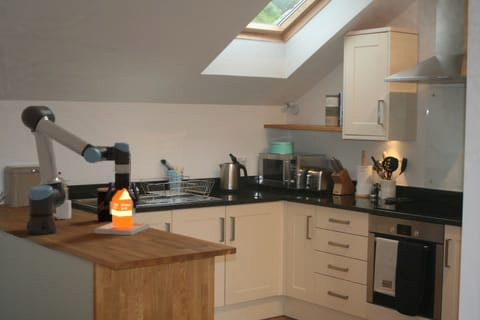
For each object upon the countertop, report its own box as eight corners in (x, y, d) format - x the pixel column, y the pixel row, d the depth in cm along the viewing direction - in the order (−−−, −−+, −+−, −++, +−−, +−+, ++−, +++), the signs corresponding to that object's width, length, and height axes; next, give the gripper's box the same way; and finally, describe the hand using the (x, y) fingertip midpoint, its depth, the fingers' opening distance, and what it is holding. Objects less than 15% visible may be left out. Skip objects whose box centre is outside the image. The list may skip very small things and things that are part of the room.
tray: (131, 235, 346) (131, 230, 346) (94, 233, 351) (94, 228, 351) (149, 227, 369) (149, 223, 369) (114, 225, 374) (114, 221, 374)
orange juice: (118, 228, 354) (118, 189, 353) (112, 225, 361) (111, 187, 360) (133, 226, 358) (132, 188, 357) (126, 224, 366) (125, 186, 364)
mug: (53, 220, 391) (53, 202, 390) (47, 218, 397) (47, 201, 396) (73, 218, 398) (73, 201, 397) (67, 217, 404) (67, 199, 404)
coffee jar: (93, 220, 392) (93, 188, 391) (109, 218, 400) (108, 187, 399) (105, 222, 385) (104, 190, 384) (120, 220, 393) (120, 188, 392)
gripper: (146, 172, 358) (146, 214, 360) (104, 171, 364) (104, 212, 366) (140, 173, 351) (141, 216, 353) (97, 172, 357) (98, 214, 359)
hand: (122, 214), depth 359 cm, fingers closed on orange juice, 11 cm apart
